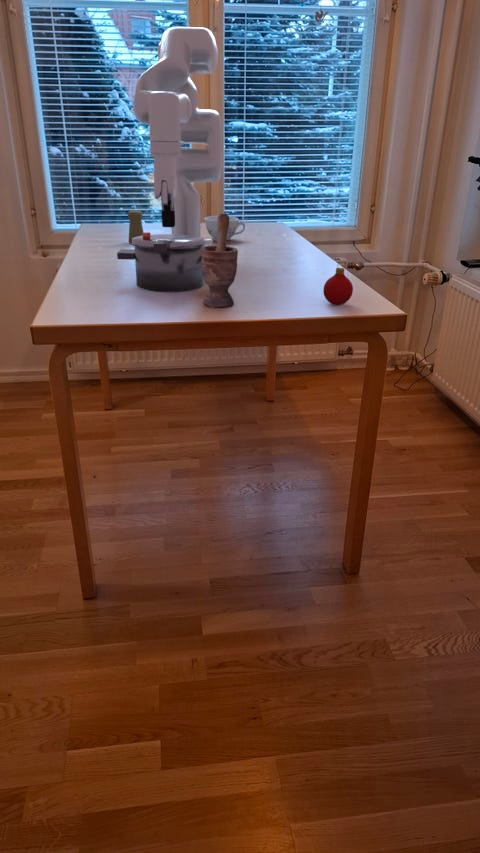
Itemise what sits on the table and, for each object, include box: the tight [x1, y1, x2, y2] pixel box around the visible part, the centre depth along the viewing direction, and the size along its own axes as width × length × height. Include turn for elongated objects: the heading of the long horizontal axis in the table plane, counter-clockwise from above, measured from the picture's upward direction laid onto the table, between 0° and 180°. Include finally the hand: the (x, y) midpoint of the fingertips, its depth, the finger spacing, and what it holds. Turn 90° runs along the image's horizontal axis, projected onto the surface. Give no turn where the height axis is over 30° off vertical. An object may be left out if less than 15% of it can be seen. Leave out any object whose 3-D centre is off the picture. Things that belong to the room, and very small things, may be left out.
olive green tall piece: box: [127, 209, 144, 244], centre depth 207 cm, size 6×6×11 cm
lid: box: [131, 231, 206, 252], centre depth 149 cm, size 24×19×3 cm
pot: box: [116, 245, 204, 293], centre depth 156 cm, size 20×27×10 cm
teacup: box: [204, 215, 246, 241], centre depth 215 cm, size 15×12×8 cm
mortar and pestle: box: [201, 213, 239, 309], centre depth 137 cm, size 12×9×20 cm
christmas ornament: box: [323, 262, 354, 306], centre depth 140 cm, size 7×7×10 cm
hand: (168, 226), depth 152 cm, fingers closed
